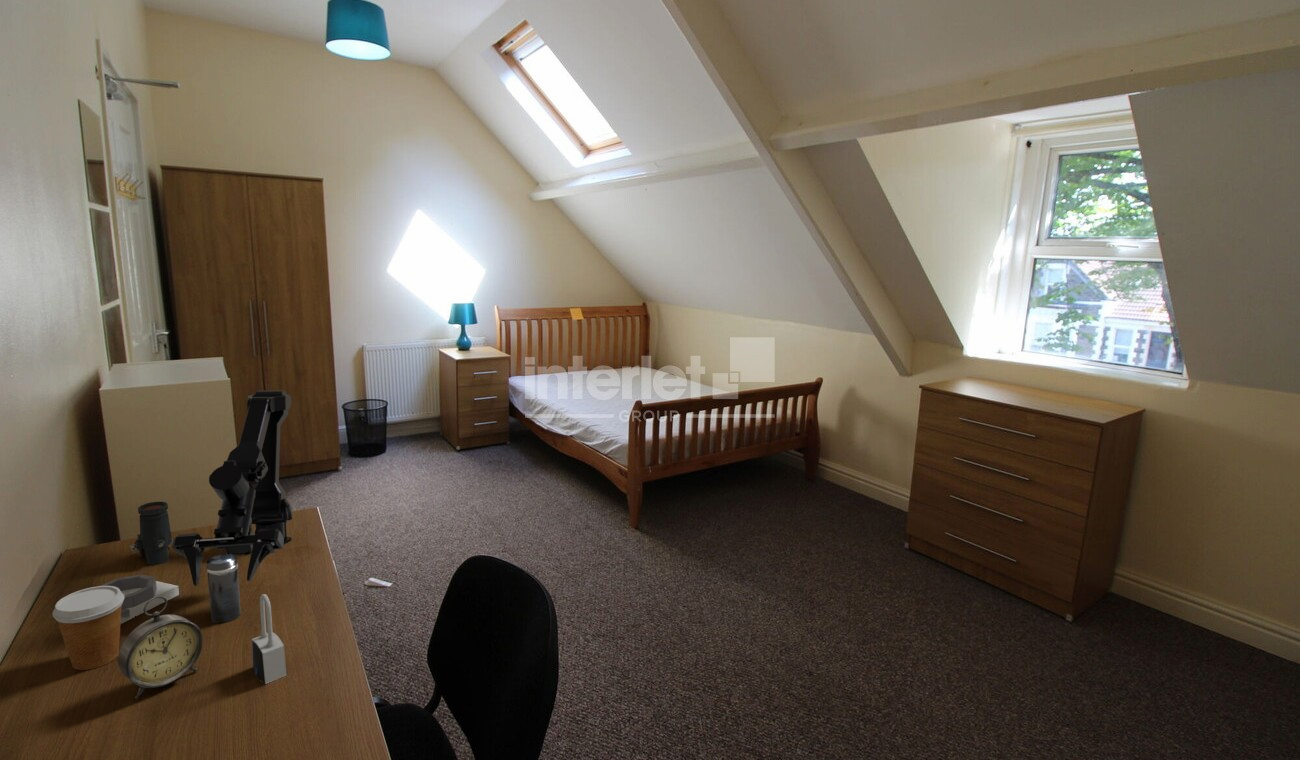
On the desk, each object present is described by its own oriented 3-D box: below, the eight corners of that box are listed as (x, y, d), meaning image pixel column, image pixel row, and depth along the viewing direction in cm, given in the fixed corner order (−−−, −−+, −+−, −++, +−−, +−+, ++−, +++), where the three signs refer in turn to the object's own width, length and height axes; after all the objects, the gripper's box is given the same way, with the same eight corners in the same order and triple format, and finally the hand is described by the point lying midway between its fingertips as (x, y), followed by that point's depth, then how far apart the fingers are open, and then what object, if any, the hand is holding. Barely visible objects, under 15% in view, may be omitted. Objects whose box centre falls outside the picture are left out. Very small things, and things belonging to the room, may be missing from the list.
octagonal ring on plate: (143, 586, 136) (141, 567, 135) (179, 594, 134) (177, 575, 133) (70, 620, 123) (67, 599, 122) (108, 630, 121) (106, 608, 120)
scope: (166, 494, 152) (180, 505, 146) (171, 547, 154) (185, 560, 148) (123, 503, 145) (136, 515, 139) (129, 558, 148) (142, 572, 142)
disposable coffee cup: (81, 682, 106) (73, 618, 104) (47, 667, 109) (38, 604, 107) (142, 651, 115) (136, 591, 113) (109, 638, 118) (102, 579, 116)
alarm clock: (131, 707, 101) (121, 616, 98) (117, 694, 104) (107, 605, 101) (207, 672, 110) (200, 588, 107) (193, 661, 113) (185, 578, 110)
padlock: (249, 668, 112) (244, 592, 109) (275, 658, 115) (271, 583, 112) (262, 686, 108) (257, 607, 105) (289, 675, 111) (284, 598, 108)
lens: (227, 607, 130) (223, 551, 128) (247, 611, 129) (243, 555, 127) (204, 620, 125) (199, 562, 123) (224, 625, 124) (220, 566, 122)
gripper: (293, 521, 143) (283, 590, 134) (197, 527, 137) (181, 599, 129) (282, 501, 134) (271, 573, 125) (180, 507, 128) (161, 583, 120)
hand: (222, 583), depth 125 cm, fingers open, 9 cm apart
